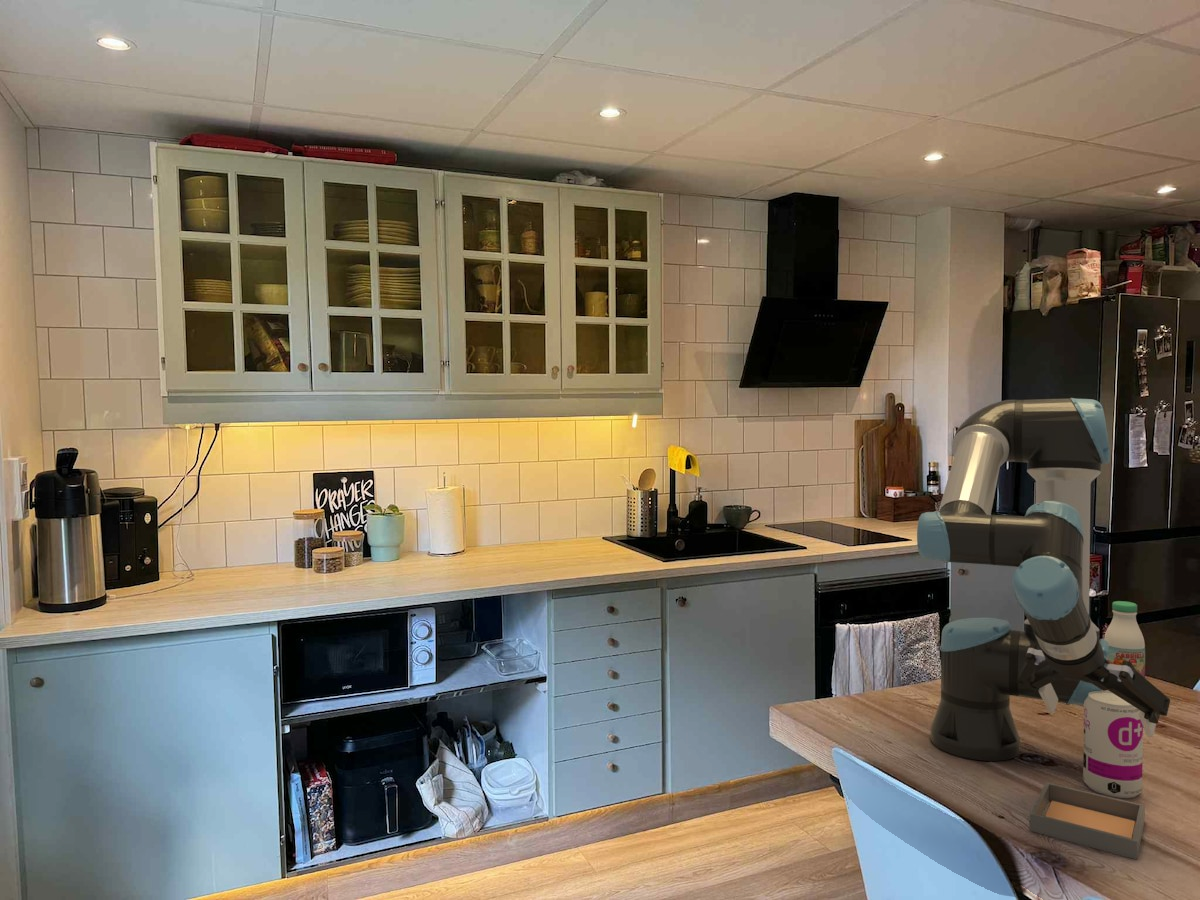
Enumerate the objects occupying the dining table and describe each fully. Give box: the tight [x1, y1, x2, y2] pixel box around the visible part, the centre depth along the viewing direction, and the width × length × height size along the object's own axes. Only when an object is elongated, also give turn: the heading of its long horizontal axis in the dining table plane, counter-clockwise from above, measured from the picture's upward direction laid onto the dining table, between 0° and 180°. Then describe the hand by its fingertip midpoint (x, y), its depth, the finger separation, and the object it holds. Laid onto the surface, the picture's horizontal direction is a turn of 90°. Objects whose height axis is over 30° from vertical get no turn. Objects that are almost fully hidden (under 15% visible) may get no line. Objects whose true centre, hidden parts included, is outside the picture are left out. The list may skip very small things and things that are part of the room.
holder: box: [1029, 781, 1146, 860], centre depth 121 cm, size 13×13×2 cm
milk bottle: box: [1103, 600, 1146, 692], centre depth 178 cm, size 8×8×20 cm
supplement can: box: [1082, 690, 1144, 799], centre depth 133 cm, size 8×8×15 cm
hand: (1100, 717), depth 127 cm, fingers open, 13 cm apart
